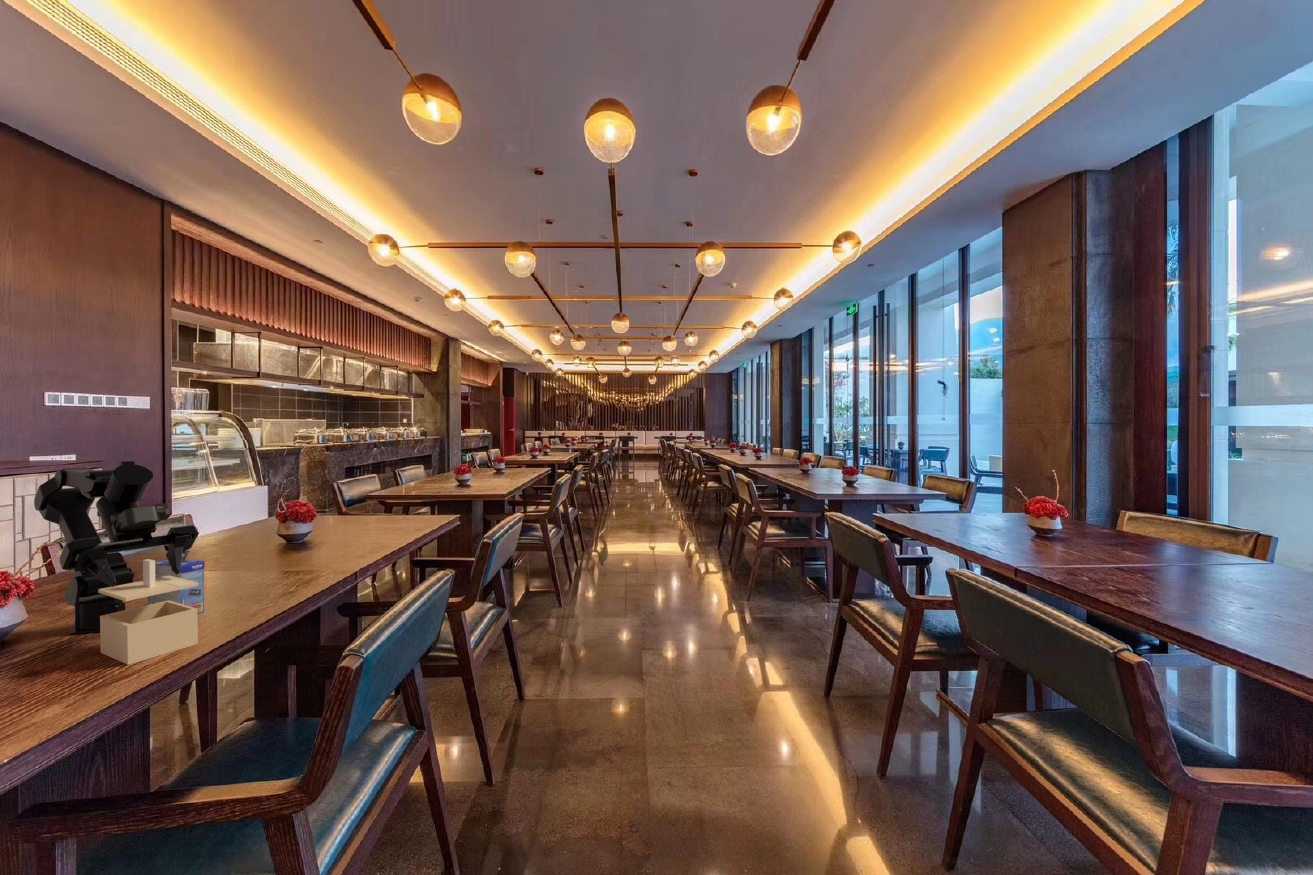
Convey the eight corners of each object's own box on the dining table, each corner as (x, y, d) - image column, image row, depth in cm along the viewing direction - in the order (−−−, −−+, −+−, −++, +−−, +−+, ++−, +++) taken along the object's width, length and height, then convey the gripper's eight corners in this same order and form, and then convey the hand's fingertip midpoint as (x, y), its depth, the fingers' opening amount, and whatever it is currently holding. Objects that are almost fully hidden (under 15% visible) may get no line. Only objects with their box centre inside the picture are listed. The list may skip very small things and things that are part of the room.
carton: (100, 652, 96) (100, 615, 96) (169, 633, 105) (168, 600, 105) (127, 664, 91) (127, 626, 91) (197, 643, 100) (197, 608, 100)
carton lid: (98, 592, 96) (97, 563, 96) (169, 578, 105) (169, 551, 105) (125, 601, 90) (125, 570, 90) (198, 585, 100) (198, 557, 100)
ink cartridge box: (206, 611, 118) (206, 549, 118) (180, 619, 113) (179, 555, 113) (173, 608, 120) (173, 548, 120) (146, 617, 115) (145, 553, 115)
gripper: (64, 497, 92) (89, 564, 87) (194, 487, 109) (221, 543, 104) (49, 536, 95) (72, 603, 91) (177, 520, 112) (202, 576, 107)
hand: (147, 579), depth 98 cm, fingers open, 9 cm apart
